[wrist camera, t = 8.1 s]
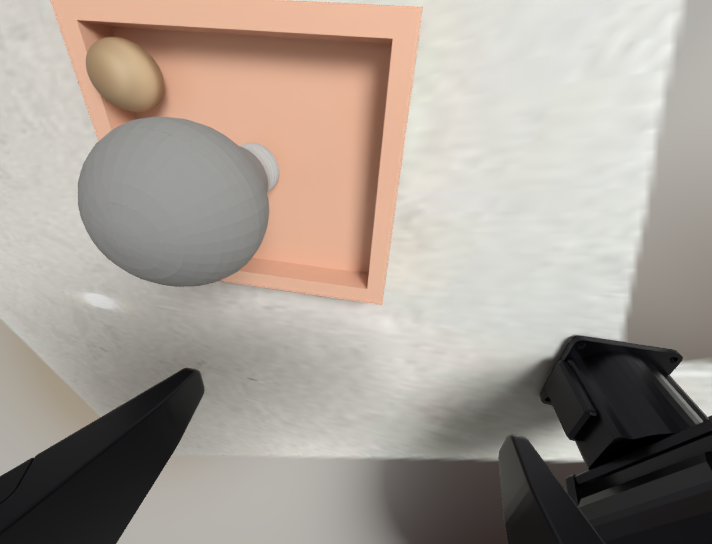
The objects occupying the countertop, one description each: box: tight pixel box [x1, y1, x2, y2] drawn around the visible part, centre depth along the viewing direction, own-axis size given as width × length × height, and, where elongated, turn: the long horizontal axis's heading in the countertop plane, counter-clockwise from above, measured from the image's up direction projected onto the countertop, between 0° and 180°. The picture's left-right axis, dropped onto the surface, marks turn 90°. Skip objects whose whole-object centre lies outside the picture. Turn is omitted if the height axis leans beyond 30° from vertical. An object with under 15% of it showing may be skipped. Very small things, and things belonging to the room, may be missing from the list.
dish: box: [50, 0, 423, 305], centre depth 17 cm, size 16×14×2 cm
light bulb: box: [78, 116, 279, 286], centre depth 13 cm, size 6×6×10 cm
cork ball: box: [86, 37, 164, 112], centre depth 15 cm, size 3×3×3 cm
